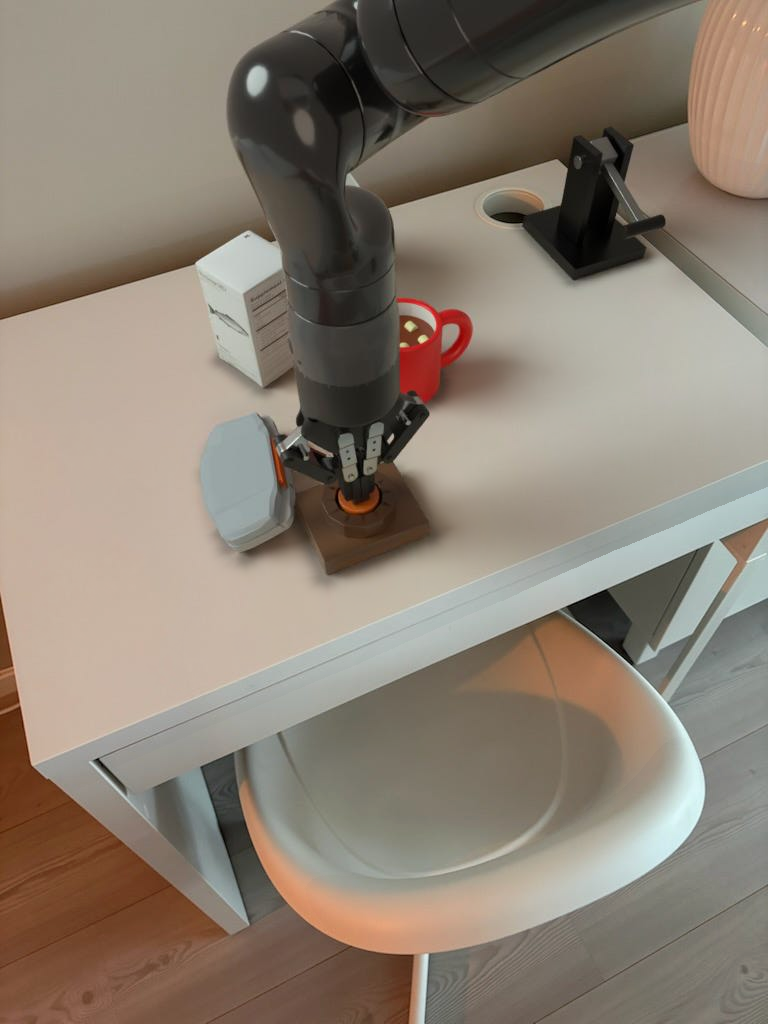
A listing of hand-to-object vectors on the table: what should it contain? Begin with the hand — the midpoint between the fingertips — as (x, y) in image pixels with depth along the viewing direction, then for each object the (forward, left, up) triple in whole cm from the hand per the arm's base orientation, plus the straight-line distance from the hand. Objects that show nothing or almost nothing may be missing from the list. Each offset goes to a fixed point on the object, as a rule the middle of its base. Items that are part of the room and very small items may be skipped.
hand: (357, 494), depth 66 cm
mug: (0, -20, -4) cm, 21 cm away
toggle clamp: (-13, -48, -4) cm, 50 cm away
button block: (0, 0, -4) cm, 4 cm away
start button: (0, 0, -2) cm, 2 cm away
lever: (-16, -45, +4) cm, 48 cm away
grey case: (+15, +2, -3) cm, 15 cm away
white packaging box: (+17, -18, -4) cm, 25 cm away
